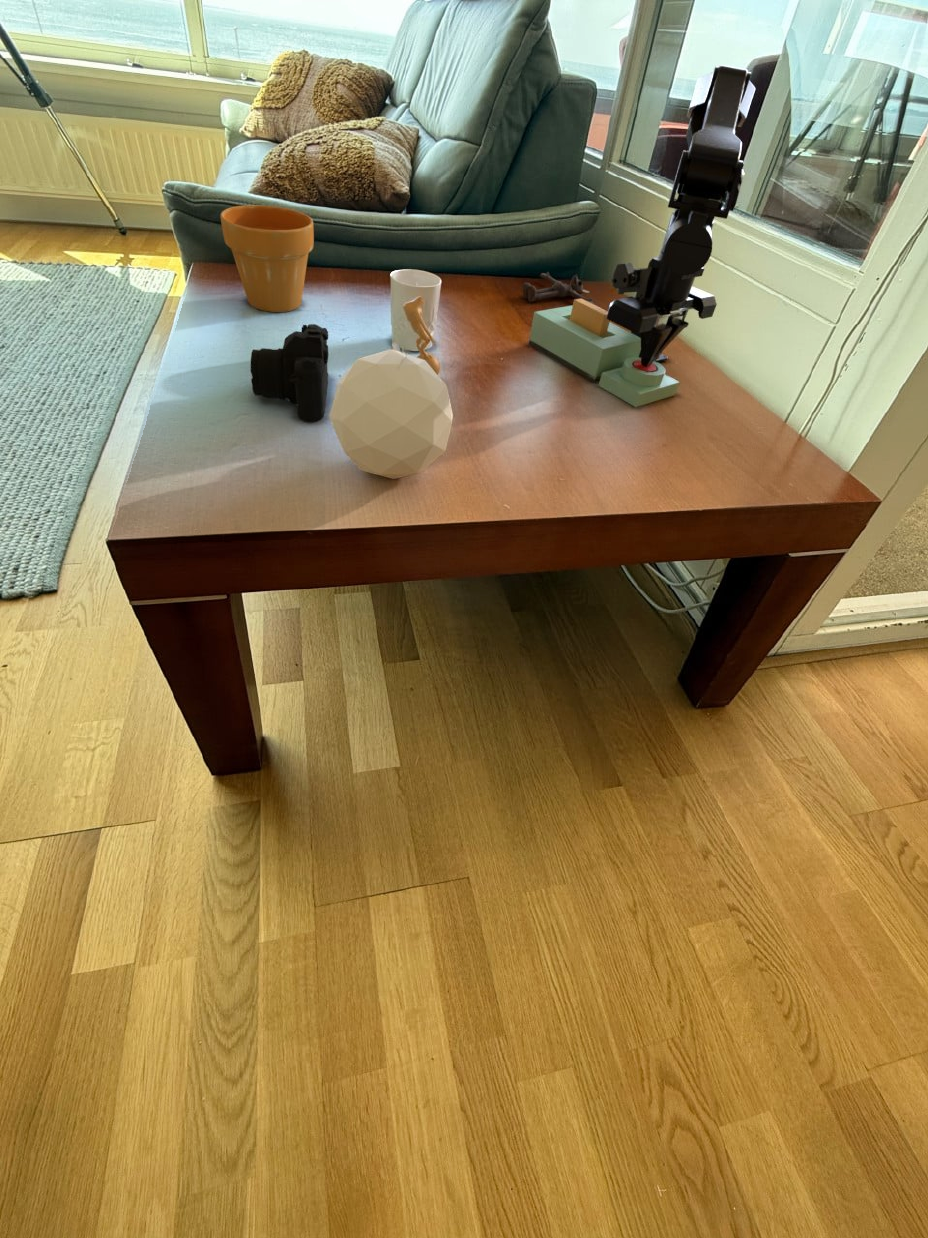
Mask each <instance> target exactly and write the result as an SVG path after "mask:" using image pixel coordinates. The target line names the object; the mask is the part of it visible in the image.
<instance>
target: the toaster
mask: <svg viewBox="0 0 928 1238" xmlns="http://www.w3.org/2000/svg"><path fill="white" fill-rule="evenodd" d="M572 307H573V304H572V305H566V306H562V307H561V306H560V307H555V308H549V309H543V310H537V311H534V312H533V317H532V323H531V327H530V333H529V338H528V343H527V345H528V346H529V347H532V348H533V349H535V350H537V351H538V352H539V353H541V354H544V355H546V356H547V357H548V358H550V359H552V360H554V361H556V362H557V363H558V364H561V365H562V366H564V367H566V368H568V369H569V370H571V371H573V372H574V373H576V374H578V375H579V376H581V377H583V378H584V379H586V380H588V381H590V382H591V383H593V384H594V383H598V382H600V379H601V375H602V372H606V371H610V370H614V369H618V368H622V367H623V364H624V361H625V360H626V359H627V358H632V357H639V354H640V351H641V338H640V337H638V336H636V335H634V334H632V333H631V331H629V330H627V329H625V328H623V327H621V326H619V325H617V324H615V323H613V322H610V323H609V327H608V330H607V334H606V337H605V338H602V337H600V336H598V335H596V334H594V333H592V332H590V331H589V330H587V329H585V328H583V327H581V326H579V325H577V324H575V323H573V322H571V321H570V316H571V311H572Z"/></svg>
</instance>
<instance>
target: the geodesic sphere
mask: <svg viewBox="0 0 928 1238" xmlns="http://www.w3.org/2000/svg"><path fill="white" fill-rule="evenodd" d="M391 345H392V348H390V349H386V350H383V351H379V352H377V353H373V354H369V355H365V356H362V357H359V358H357V359H356V360H355V361H354V362H353V364H352V365H350V367H349V368H348V369H347V371H345V373H344V374H343V375H342V377H341V378H340V379H339V380H338V382H337V385H336V388H335V393H334V397H333V401H332V403H331V404H332V405H331V408H330V412H329V415H328V418H329V420H330V422H331V424H332V426H333V429H334V431H335V434H336V435H337V439H338V441H339V443H340V445H341V448H342V450H343V452H344V454H345V455H346V456H347V457H348V458H349V459H350V460H351V461H352V463H354V465H355V466H357V467H358V468H359V470H360V471H361V472H365V473H369V474H371V475H377V476H381V477H384V478H389V479H392V480H396V479H400V478H404V477H408V476H413V475H417V474H419V473H421V472H422V471H425V470H426V469H427V468H428V467H429V466H430V465H431V464H433V463H434V462H435V461H436V460H437V459H438V458H440V457H441V456H442V455H443V454H444V453H445V452H446V451H447V447H448V441H449V438H450V433H451V428H452V425H453V424H452V423H453V419H454V414H453V413H454V412H453V410H452V409H453V408H452V404H451V399H450V394H449V390H448V386H447V385H446V383H445V382H444V381H443V380H442V379H441V377H440V376H439V374H438V375H437V374H436V373H435V371H434V370H433V369H432V368H431V367H430V365H429V364H428V363H427V362H426V361H425V360H423V359H420V358H417V356H414V355H410V354H408V353H409V351H410V350H406V348H405V349H403V345H402V348H400V347H399V344H398V343H397V345H396V343H394V344H393V342H391Z"/></svg>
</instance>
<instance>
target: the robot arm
mask: <svg viewBox="0 0 928 1238" xmlns="http://www.w3.org/2000/svg"><path fill="white" fill-rule="evenodd" d="M751 75H752V72H751V71H748V69H747V68H742V67H738V66H732V65H731V66H730V65H725V64H720V65H719V66H717V65H715V66H714V68H713V71H712V72H710V73H708V74H704V75H703V76H700V77H698V78H697V81H696V84H695V87H694V88H693V89H694V90H693V93H692V96H691V99H690V102H689V103H690V104H689V107H688V110H687V112H686V113H687V114H686V118H689V123H688V127H687V129H686V134H685V135H686V136H685V137H686V141H687V146H688V150H685V149H683V151H682V154H681V157H680V159H679V164H678V167H677V171H676V173H675V177H674V181H673V184H672V189H671V192H670V197H669V200H668V204H667V208H669V209H674V210H673V211H672V213H671V216H670V219H669V222H668V226H667V229H666V232H665V236H664V239H663V242H662V245H661V249H660V252H659V255H658V256H657V257H652V258H651V259H650V260H649V262H648V264H647V267H637V268H635V267H634V264H633V262H627V263H617V264H616V266H615V268H614V271H613V273H612V274H613V275H612V279H611V283H612V287H613V288H614V289H615V290H616V289H617V295H624V294H625V293H635V296H626V297H619V298H616V299H614V300H613V301H612V302H610V303H609V306H608V309H607V311H608V313H607V319H608V320H610V322H611V323H613V324H615V325H617V326H619V327H621V328H623V329H625V330H627V331H629V332H630V333H632V334H634V335H636V336H638V337H640V338H641V351H640V354H639V357H638V358H641V364H642V365H643V366H645V367H647V366H650V365H651V364H652V362H653V361H655V362H657V363H662V362H664V361H665V362H666V361H667V360H668V359H669V357H668V356H667V355H665V354H663V352H664V350H665V349H666V348H667V347H668V346H669V345H670V344H671V342H673V340H675V339H676V337H677V336H678V335H680V334H681V332H682V331H683V330H684V329H685V328H688V326H689V321H688V322H687V321H686V320H685V319H686V317H687V315H688V313H689V311H690V310H695V311H697V314H698V318H699V319H701V320H703V319H709V318H712V317H713V315H714V313H715V311H716V308H717V306H718V303H717V299H716V296H715V295H713V294H711V293H709V292H707V291H705V290H702V289H700V288H697V287H695V286H693V285H694V282H695V279H696V278H698V277H699V278H700V277H703V274H704V271H705V265H706V264H707V263H708V262H709V259H711V256H712V252H713V233H712V230H713V227H714V224H715V218H720V219H726V220H727V219H728V217H729V214H730V211H731V212H733V211H734V209H735V207H736V205H737V202H738V198H739V194H740V190H741V187H742V183H743V180H744V176H745V172H744V165H745V163H744V161H743V160H740V158H741V154H742V147H743V142H742V141H741V139H740V138H739V137H738V136H737V135H736V132H737V130H738V127H739V128H742V127H743V124H744V122H745V121H746V120H747V116H748V113H749V110H750V106H751V104H752V100H753V98H754V94H755V91H756V87H755V85H754V84H753V83H752V82H751V80H750V79H751ZM676 195H677V197H676ZM724 201H725V202H724ZM723 205H724V206H723Z"/></svg>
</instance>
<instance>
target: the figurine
mask: <svg viewBox="0 0 928 1238" xmlns="http://www.w3.org/2000/svg"><path fill="white" fill-rule="evenodd" d="M423 304H424V302H423V298H422V297H421V296H419V297H418V298H416V299H415V300H413V301H410V302H407V303H406V304H405V305H404V306H403V309H404V312H405V314H406V316H407V320H409V321H410V323H411V326H412V328H413V330H414V332H416V333H417V334H418V335H419V336H420V338H418V339H417V341H416V343H417V348H418V350H419V351H418V352H419V354H418V355H417V356H416V357H417V358H420V359H423V360H425V361H426V362H427V363H428V364H429V365H430V367H431V368H432V369H433V370H434V371H435V373H436V374H437V375H438V376H439V374H440V370H441V364H440V361H439V359H438V358H437V356H435V355H434V354H432V353H429V352H427V350H424V348H426V346H427V345H428V344H429V343H430V340H431V342H432V344H433V346H435V344H436V342H435V337H434V338H433V337H432V336H431V334H430V332H429V330H428V329H427V328H426V325H425V323H424V322H423V319H422V310H421V307H422V305H423ZM409 321H408V322H409ZM421 325H422V327H423V328H422V327H421ZM423 329H424V330H425V331H424V330H423ZM422 340H424V341H425V343H423V344H422V345H421V347H420V345H419V344H420V343H421V342H422Z"/></svg>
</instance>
